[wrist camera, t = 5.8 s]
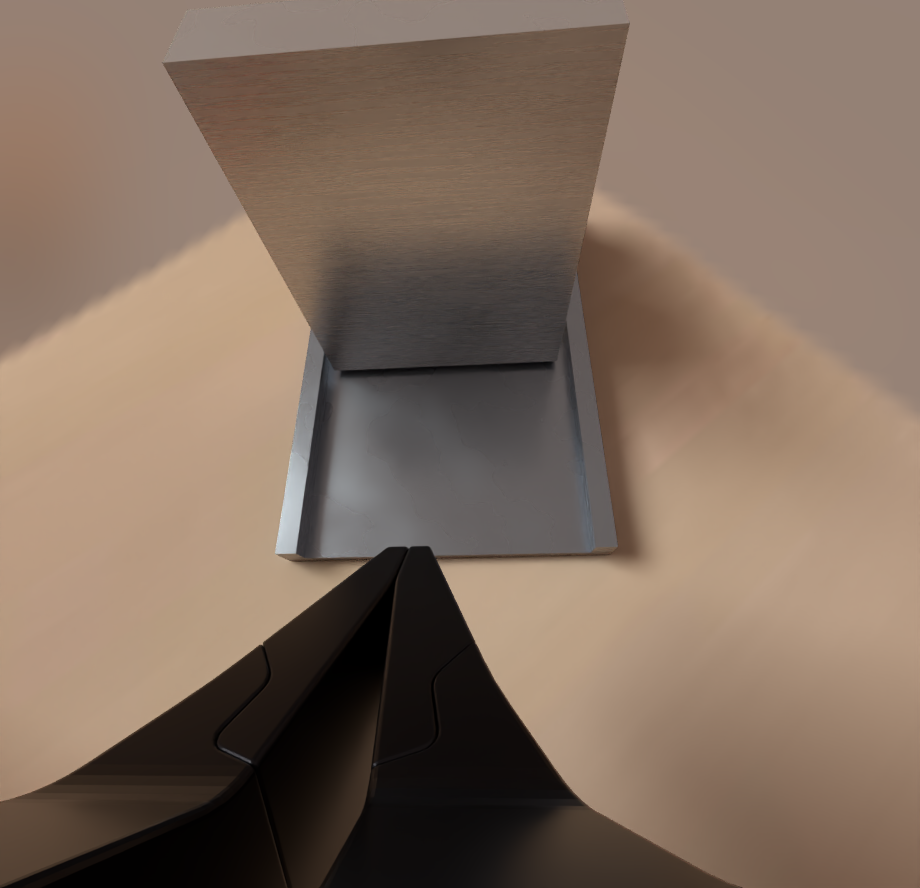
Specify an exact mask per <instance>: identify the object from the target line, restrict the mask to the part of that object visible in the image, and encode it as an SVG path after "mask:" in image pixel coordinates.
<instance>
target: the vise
mask: <svg viewBox="0 0 920 888" xmlns="http://www.w3.org/2000/svg"><path fill="white" fill-rule="evenodd" d="M396 546H405V547H408V549H409V548H410V547H411V546H429V547H430V548H431V549H432V551H433V553H434V556H435V558H450V557H501V556H551V555H602V554H610V553H612V552H613V551H614V550H615V549H616V548H617V547H618V543H617V537H616V530H615V523H614V516H613V510H612V503H611V496H610V490H609V483H608V476H607V470H606V463H605V456H604V449H603V443H602V436H601V429H600V423H599V416H598V409H597V403H596V396H595V389H594V382H593V376H592V369H591V362H590V356H589V349H588V342H587V336H586V329H585V322H584V315H583V309H582V302H581V295H580V289H579V282H578V275H577V271H576V276H575V280H574V285H573V290H572V294H571V299H570V304H569V308H568V313H567V318H566V322H565V327H564V331H563V336H562V341H561V345H560V350H559V355H558V359H557V361H547V362H524V363H501V364H478V365H456V366H433V367H410V368H387V369H364V370H341V371H335V370H334V369H333V367H332V365H331V363H330V361H329V360H328V358H327V356H326V354H325V353H324V351H323V349H322V347H321V345H320V344H319V342H318V340H317V338H316V336H315V335H314V333H313V331H312V329H311V331H310V338H309V344H308V350H307V357H306V363H305V369H304V375H303V382H302V388H301V394H300V401H299V407H298V413H297V419H296V426H295V432H294V438H293V445H292V451H291V457H290V463H289V470H288V476H287V482H286V489H285V495H284V501H283V507H282V514H281V520H280V526H279V533H278V539H277V545H276V551H275V554H276V555H278V556H281V557H283V558H285V559H287V560H289V561H297V560H348V559H373V558H374V557H375V556H376V555H378V554H379V553H380V552H382V551H383V550H384V549H386V548H387V547H396Z"/></svg>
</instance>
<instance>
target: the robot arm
mask: <svg viewBox="0 0 920 888" xmlns="http://www.w3.org/2000/svg"><path fill="white" fill-rule="evenodd" d="M0 888H742V887H739V886H736V885H733V884H730V883H727V882H725V881H723V880H721V879H719V878H717V877H715V876H713V875H711V874H709V873H707V872H705V871H703V870H701V869H699V868H697V867H696V866H694V865H692V864H690V863H688V862H687V861H685V860H683V859H681V858H679V857H678V856H676V855H674V854H672V853H670V852H669V851H667V850H665V849H663V848H661V847H660V846H658V845H656V844H654V843H652V842H651V841H649V840H647V839H645V838H643V837H642V836H640V835H638V834H636V833H634V832H633V831H631V830H629V829H627V828H625V827H624V826H622V825H620V824H618V823H616V822H615V821H613V820H611V819H609V818H607V817H606V816H604V815H602V814H600V813H598V812H596V811H595V810H593V809H592V808H590V807H589V806H588V805H587V804H585V803H584V802H583V801H582V800H581V799H580V798H579V797H578V796H577V795H576V794H575V793H574V792H573V791H572V790H571V789H570V788H569V786H568V785H567V784H566V783H565V781H564V780H563V779H562V777H561V776H560V775H559V773H558V772H557V771H556V769H555V768H554V766H553V765H552V764H551V762H550V761H549V759H548V758H547V756H546V755H545V753H544V752H543V751H542V749H541V748H540V746H539V745H538V743H537V742H536V741H535V739H534V738H533V736H532V735H531V733H530V732H529V730H528V729H527V728H526V726H525V725H524V723H523V722H522V720H521V719H520V718H519V716H518V715H517V713H516V712H515V710H514V709H513V708H512V706H511V705H510V703H509V702H508V700H507V698H506V697H505V695H504V694H503V692H502V691H501V689H500V687H499V686H498V684H497V683H496V681H495V679H494V678H493V676H492V674H491V672H490V670H489V668H488V666H487V664H486V663H485V661H484V659H483V657H482V655H481V652H480V650H479V648H478V646H477V644H475V640H474V638H473V636H472V634H471V632H470V630H469V628H468V625H467V623H466V621H465V619H464V617H463V615H462V613H461V611H460V609H459V606H458V604H457V602H456V600H455V598H454V596H453V594H452V592H451V589H450V587H449V585H448V583H447V581H446V579H445V577H444V575H443V573H442V570H441V568H440V566H439V564H438V562H437V560H436V558H435V556H434V553H433V551H432V549H431V548H430V547H429V546H411V547H410V548H409V549H408V547H405V546H396V547H387V548H386V549H384V550H383V551H382V552H380V553H379V554H378V555H376V556H375V557H374V558H373V559H371V560H370V561H369V562H367V563H366V564H365V565H363V566H362V567H361V568H360V569H358V570H357V571H356V572H354V573H353V574H352V575H350V576H349V577H348V578H346V579H345V580H344V581H343V582H341V583H340V584H339V585H337V586H336V587H335V588H333V589H332V590H331V591H330V592H328V593H327V594H326V595H324V596H323V597H322V598H320V599H319V600H318V601H316V602H315V603H314V604H313V605H311V606H310V607H309V608H307V609H306V610H305V611H303V612H302V613H301V614H300V615H298V616H297V617H296V618H294V619H293V620H292V621H290V622H289V623H288V624H286V625H285V626H284V627H283V628H281V629H280V630H279V631H277V632H276V633H275V634H273V635H272V636H271V637H269V638H268V639H267V640H266V641H264V642H263V645H259V646H258V647H256V648H255V649H254V650H252V651H251V652H250V653H248V654H247V655H246V656H244V657H243V658H242V659H241V660H239V661H238V662H236V663H235V664H234V665H232V666H231V667H230V668H228V669H227V670H226V671H224V672H223V673H221V674H220V675H219V676H217V677H216V678H215V679H213V680H212V681H210V682H209V683H207V684H206V685H205V686H203V687H202V688H200V689H199V690H197V691H196V692H194V693H193V694H191V695H190V696H188V697H187V698H185V699H184V700H183V701H181V702H180V703H178V704H177V705H175V706H174V707H172V708H170V709H169V710H167V711H166V712H164V713H163V714H161V715H160V716H158V717H157V718H155V719H154V720H152V721H151V722H149V723H148V724H146V725H145V726H143V727H142V728H140V729H139V730H137V731H136V732H134V733H133V734H131V735H129V736H128V737H126V738H125V739H123V740H122V741H120V742H119V743H117V744H116V745H114V746H113V747H111V748H110V749H108V750H107V751H105V752H104V753H102V754H101V755H99V756H98V757H96V758H95V759H93V760H92V761H90V762H88V763H87V764H85V765H84V766H82V767H80V768H79V769H77V770H76V771H74V772H72V773H71V774H69V775H67V776H65V777H63V778H61V779H60V780H58V781H56V782H54V783H52V784H50V785H47V786H45V787H43V788H40V789H38V790H36V791H33V792H31V793H28V794H25V795H22V796H19V797H16V798H13V799H10V800H6V801H2V802H0Z"/></svg>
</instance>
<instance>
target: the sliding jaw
mask: <svg viewBox="0 0 920 888" xmlns="http://www.w3.org/2000/svg"><path fill="white" fill-rule="evenodd" d="M629 25H630V22H629V19H628V15H627V12H626V9H625V5H624V2H623V0H291V1H280V2H269V3H258V4H248V5H237V6H225V7H214V8H204V9H193V10H187V11H186V13H185V15H184V18H183V19H182V22H181V24H180V26H179V28H178V30H177V32H176V34H175V37H174V39H173V41H172V43H171V45H170V48H169V49H168V52H167V54H166V56H165V58H164V60H163V64H164V67H165V68H166V70H167V72H168V74H169V75H170V77H171V79H172V81H173V83H174V84H175V86H176V88H177V90H178V92H179V93H180V95H181V97H182V99H183V100H184V102H185V104H186V106H187V108H188V109H189V111H190V113H191V115H192V117H193V118H194V120H195V122H196V124H197V125H198V127H199V129H200V131H201V132H202V134H203V136H204V138H205V140H206V142H207V143H208V145H209V147H210V149H211V151H212V152H213V154H214V156H215V158H216V160H217V161H218V163H219V165H220V166H221V168H222V170H223V172H224V174H225V176H226V177H227V179H228V181H229V183H230V185H231V186H232V188H233V190H234V191H235V193H236V195H237V197H238V199H239V201H240V202H241V204H242V206H243V208H244V210H245V211H246V213H247V215H248V217H249V218H250V220H251V222H252V224H253V226H254V227H255V229H256V231H257V233H258V235H259V236H260V238H261V240H262V242H263V244H264V245H265V247H266V249H267V251H268V252H269V254H270V256H271V258H272V260H273V261H274V263H275V265H276V267H277V269H278V270H279V272H280V274H281V276H282V277H283V279H284V281H285V283H286V285H287V286H288V288H289V290H290V292H291V294H292V295H293V297H294V299H295V301H296V302H297V304H298V306H299V308H300V310H301V311H302V313H303V315H304V317H305V319H306V320H307V322H308V324H309V326H310V328H311V329H312V331H313V333H314V335H315V336H316V338H317V340H318V342H319V344H320V345H321V347H322V349H323V351H324V353H325V354H326V356H327V358H328V360H329V361H330V363H331V365H332V367H333V369H334V370H335V371H341V370H364V369H387V368H410V367H433V366H456V365H478V364H501V363H524V362H547V361H557V359H558V355H559V350H560V345H561V341H562V336H563V331H564V327H565V322H566V318H567V313H568V308H569V304H570V299H571V294H572V290H573V285H574V280H575V276H576V271H577V266H578V262H579V257H580V253H581V248H582V243H583V239H584V234H585V229H586V225H587V220H588V215H589V211H590V206H591V202H592V197H593V192H594V188H595V183H596V178H597V174H598V168H599V164H600V160H601V155H602V150H603V146H604V141H605V137H606V132H607V127H608V123H609V118H610V113H611V108H612V104H613V99H614V95H615V90H616V85H617V80H618V76H619V71H620V67H621V62H622V58H623V53H624V48H625V44H626V39H627V34H628V30H629Z"/></svg>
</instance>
